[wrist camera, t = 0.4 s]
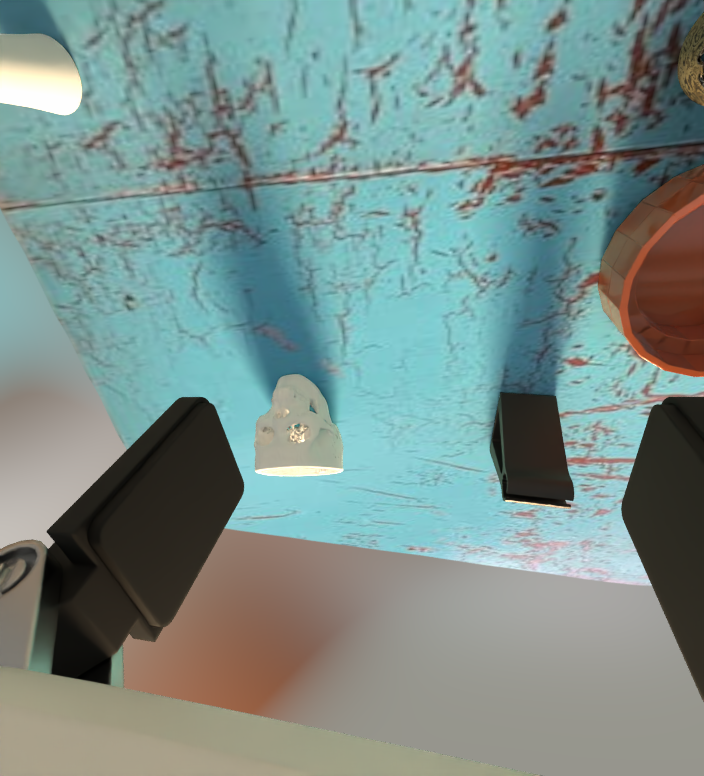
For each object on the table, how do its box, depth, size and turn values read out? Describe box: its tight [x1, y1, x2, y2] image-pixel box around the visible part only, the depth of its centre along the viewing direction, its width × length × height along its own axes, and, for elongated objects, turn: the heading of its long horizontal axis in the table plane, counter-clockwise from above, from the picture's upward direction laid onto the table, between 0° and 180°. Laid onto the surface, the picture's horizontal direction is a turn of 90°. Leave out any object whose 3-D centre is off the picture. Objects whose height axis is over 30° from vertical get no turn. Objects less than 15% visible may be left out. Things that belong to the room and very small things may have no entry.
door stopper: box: [490, 393, 574, 509], centre depth 43 cm, size 9×6×12 cm, turn 3°
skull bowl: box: [254, 374, 343, 476], centre depth 52 cm, size 10×14×12 cm
